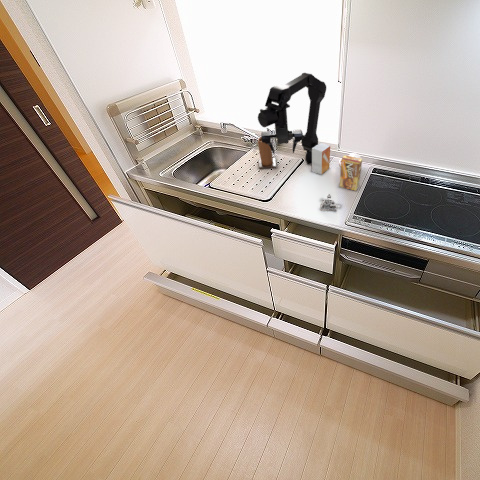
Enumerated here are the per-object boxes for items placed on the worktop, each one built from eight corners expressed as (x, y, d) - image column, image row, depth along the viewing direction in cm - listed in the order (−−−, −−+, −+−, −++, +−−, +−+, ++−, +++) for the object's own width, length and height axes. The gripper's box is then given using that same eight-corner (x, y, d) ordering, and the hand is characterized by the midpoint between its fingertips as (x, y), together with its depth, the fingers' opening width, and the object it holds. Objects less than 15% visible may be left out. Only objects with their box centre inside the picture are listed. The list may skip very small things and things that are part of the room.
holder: (275, 159, 146) (274, 150, 142) (276, 168, 140) (275, 158, 136) (259, 161, 145) (257, 151, 141) (259, 169, 139) (257, 159, 135)
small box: (321, 175, 136) (322, 151, 126) (311, 171, 138) (311, 148, 129) (329, 168, 141) (330, 145, 131) (319, 165, 143) (320, 142, 134)
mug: (362, 168, 141) (364, 154, 136) (358, 176, 135) (360, 163, 129) (340, 164, 144) (341, 150, 138) (336, 173, 137) (337, 159, 132)
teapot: (340, 200, 121) (341, 186, 115) (340, 212, 115) (341, 198, 109) (321, 199, 121) (321, 185, 116) (320, 211, 115) (320, 197, 110)
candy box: (358, 186, 129) (362, 158, 118) (356, 191, 126) (360, 162, 115) (341, 182, 131) (344, 154, 120) (339, 187, 128) (341, 158, 117)
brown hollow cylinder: (274, 163, 141) (271, 140, 132) (264, 166, 139) (260, 143, 129) (270, 158, 145) (267, 135, 135) (259, 161, 142) (255, 138, 133)
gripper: (259, 128, 107) (264, 163, 118) (304, 126, 109) (305, 160, 121) (259, 118, 115) (264, 151, 126) (301, 116, 117) (302, 149, 128)
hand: (283, 153), depth 125 cm, fingers open, 9 cm apart
